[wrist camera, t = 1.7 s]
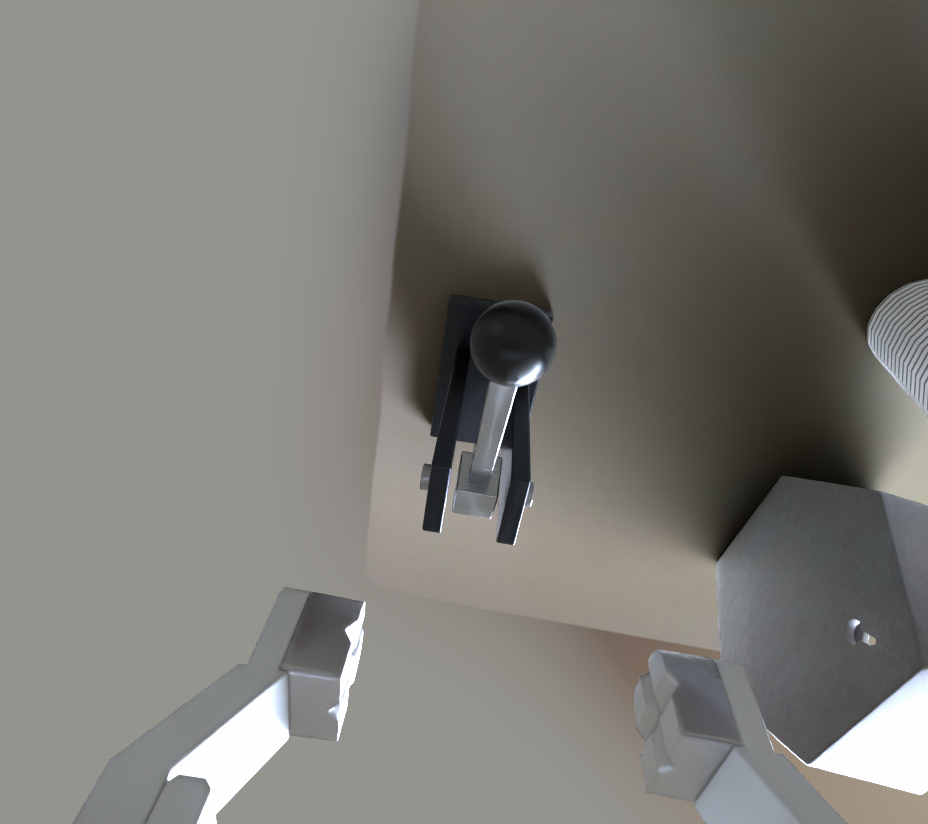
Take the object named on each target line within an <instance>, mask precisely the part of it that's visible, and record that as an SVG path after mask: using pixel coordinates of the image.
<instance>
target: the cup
mask: <svg viewBox="0 0 928 824" xmlns="http://www.w3.org/2000/svg"><path fill="white" fill-rule="evenodd" d="M867 343H868V345H869V346H870V348H871V350H872V352H873V354H874V355H875V356H876V358H877V359H878V360H879V361H880V362H881V363H882V365H883V366H884V367H885V368H886V369H887V370H888V372H889V373H890V374H891V375H892V376H893V377H894V379H895V380H896V381H897V382H898V383H899V384H900V386H901V387H902V388H903V389H904V390H905V392H906V393H907V394H908V395H909V396H910V397H911V399H912V400H913V401H914V402H915V403H916V404H917V406H918V407H919V408H920V409H921V410H922V411H923V413H924V414H925V415H926V416H927V417H928V279H924V280H920V281H916V282H912V283H908V284H906V285H905V286H903V287H901V288H899V289H898V290H896V291H894V292H892V293H891V294H889V295H888V296H887V297H886V298H885V299H884V300H883V302H882V303H881V304H880V305H879V306H878V307H877V308H876V309H875V311H874V313H873V315H872V317H871V319H870V321H869V323H868V328H867Z"/></svg>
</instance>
